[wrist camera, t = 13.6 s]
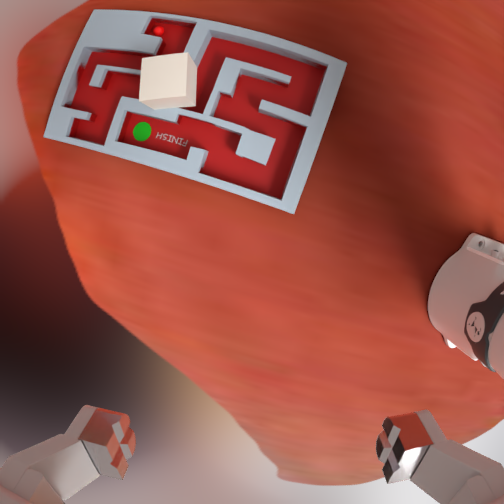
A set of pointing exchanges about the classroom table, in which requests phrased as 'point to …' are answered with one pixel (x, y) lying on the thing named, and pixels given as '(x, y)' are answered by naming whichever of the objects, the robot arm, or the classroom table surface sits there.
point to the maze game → (201, 103)
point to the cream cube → (168, 81)
